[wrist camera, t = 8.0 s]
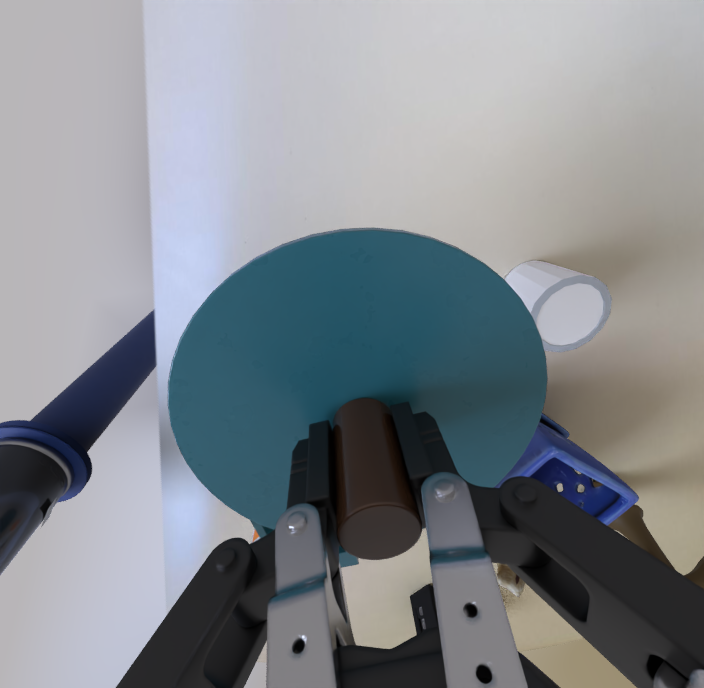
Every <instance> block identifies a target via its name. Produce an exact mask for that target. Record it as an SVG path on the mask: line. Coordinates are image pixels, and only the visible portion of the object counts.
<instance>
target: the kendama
mask: <svg viewBox="0 0 704 688" xmlns="http://www.w3.org/2000/svg"><path fill="white" fill-rule="evenodd" d="M593 484H594V487H598V486H602V485H603V484H602V483H600V482H598V481H594V482H593ZM642 517H643V510H642V509H641V508H640V507H639V506H637V505H633V506H631V507H630V508H629V509H628V510H627V511H625V512H624V513H623V514H622V515H620V516H619V517H618V518H617V519H615V520H614V521H613V522H611V523H610V524H609V525H607V526H609V527H610V528H612V529H614V530H617V531H619V532H620V533H622V534H623V535H624V536H625V537H627V538H628V539H629V540H630V541H631V542H633V543H635V544H636V545H638V546H639V547H641V548H642V549H644V550H645V551H647V552H648V553H650V554H651V555H653V556H654V557H656V558H657V559H659V560H660V561H662V562H663V563H665V564H666V565H668V566H669V567H671V568H673V569H674V567H673V566H672V564H671V563H670V562H669V560H668V559H667V557H666V556H665V555H664V553H663V552H662V550H661V549H660V547H659V546H658V544H657V543H656V541H655V540H654V538H653V537H652V535H651V534H650V532H649V530H648V529H647V527H646V525H645V523H644V521H643V519H642ZM674 570H675V569H674ZM684 576H685V577H686V578H688V579H689V580H691V581H692V582H694V583H695V584H697V585H698V586H700V587H701V588H703V589H704V557H703V558H702V559H701V560H700V561H699V562H698V564H697V565H696V567H695V568H694V569H693V570H692V571H691V572H690V573H688V574H686V575H684Z"/></svg>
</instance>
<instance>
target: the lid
mask: <svg viewBox="0 0 704 688" xmlns="http://www.w3.org/2000/svg"><path fill="white" fill-rule="evenodd" d="M546 387H547V366H546V356H545V352H544V347H543V343H542V339H541V336H540V333H539V331H538V329H537V326H536V324H535V321H534V319H533V317H532V315H531V314H530V312H529V310H528V309H527V307H526V306H525V304H524V302H523V301H522V299H521V298H520V297H519V295H518V294H517V293H516V292H515V291H514V290H513V289H512V288H511V287H510V285H509V284H508V283H507V282H506V281H505V280H504V279H503V278H502V277H501V276H499V275H498V274H497V273H496V272H494V271H493V270H492V269H491V268H489V267H488V266H487V265H486V264H484V263H483V262H481V261H480V260H478V259H476V258H475V257H473V256H471V255H470V254H468V253H466V252H464V251H463V250H461V249H459V248H457V247H455V246H453V245H450V244H448V243H445V242H442V241H440V240H437V239H435V238H432V237H429V236H425V235H420V234H416V233H412V232H408V231H403V230H394V229H383V228H352V229H339V230H334V231H328V232H323V233H317V234H312V235H309V236H306V237H303V238H300V239H297V240H294V241H291V242H288V243H285V244H282V245H280V246H278V247H276V248H274V249H272V250H270V251H268V252H266V253H264V254H262V255H260V256H258V257H256V258H254V259H253V260H251V261H250V262H248V263H247V264H245V265H244V266H242V267H241V268H240V269H238V270H237V271H235V272H234V273H232V274H231V275H230V276H229V277H228V278H227V279H226V280H225V281H224V282H223V283H221V284H220V285H219V286H218V287H217V288H216V289H215V290H214V291H213V292H212V293H211V294H210V295H209V297H208V298H207V299H206V300H205V302H204V303H203V304H202V305H201V307H200V308H199V309H198V310H197V312H196V313H195V314H194V315H193V317H192V319H191V320H190V322H189V324H188V326H187V327H186V329H185V331H184V333H183V334H182V336H181V338H180V340H179V343H178V346H177V349H176V351H175V354H174V357H173V360H172V364H171V370H170V375H169V381H168V409H169V415H170V422H171V427H172V430H173V433H174V436H175V439H176V442H177V445H178V447H179V449H180V451H181V453H182V455H183V457H184V459H185V461H186V463H187V464H188V465H189V467H190V468H191V470H192V471H193V472H194V474H195V475H196V477H197V478H198V479H199V480H200V481H201V483H202V484H203V485H204V486H205V487H206V488H207V489H208V490H209V491H210V492H211V493H212V494H213V495H214V496H216V497H217V498H218V499H219V500H220V501H222V502H223V503H224V504H225V505H227V506H228V507H230V508H231V509H233V510H234V511H236V512H237V513H239V514H240V515H242V516H244V517H246V518H248V519H250V520H252V521H254V522H256V523H258V524H260V525H262V526H265V527H268V528H270V529H273V530H274V529H275V527H276V523H277V521H278V519H279V517H280V516H281V515H282V514H283V513H284V512H285V511H286V509H287V500H288V490H289V480H290V474H291V473H290V470H291V465H292V464H291V460H292V451H293V450H294V448H295V446H296V444H297V443H298V441H299V440H303V439H307V438H309V425H310V424H312V423H316V422H321V421H325V420H329V422H330V424H331V427H332V430H333V452H334V480H335V508H336V534H337V540H338V542H339V544H340V546H341V547H342V548H343V549H344V550H345V551H346V552H347V553H349V554H351V555H352V556H355V557H358V558H361V559H367V560H381V559H388V558H392V557H395V556H398V555H400V554H402V553H404V552H406V551H407V550H409V549H410V548H411V547H412V546H414V545H415V543H416V542H417V541H418V539H419V538H420V536H421V532H422V529H423V528H422V520H421V517H420V513H419V509H418V506H417V502H416V500H415V498H414V495H413V491H412V488H411V484H410V480H409V476H408V473H407V469H406V465H405V461H404V458H403V454H402V450H401V447H400V443H399V439H398V435H397V432H396V428H395V424H394V420H393V417H392V413H391V408H390V405H394V404H398V403H403V402H407V401H409V404H410V407H411V409H412V412H413V414H416V413H420V412H425V411H426V412H427V413H428V414H430V415H431V416H432V417H433V418H434V419H435V420H436V423H437V425H438V427H439V430H440V432H441V434H442V437H443V440H444V441H445V444H446V446H447V448H448V451H449V453H450V455H451V458H452V460H453V462H454V464H455V467H456V469H457V471H458V473H459V474H460V476H461V477H462V478H463V479H465V480H466V481H467V482H469V483H471V484H474V485H476V486H481V487H492V488H493V487H495V486H496V485H497V484H498V483H499V482H500V481H501V480H502V479H503V478H504V477H505V476H506V475H507V473H508V472H509V471H510V470H511V469H512V468H513V467H514V465H515V464H516V463H517V461H518V460H519V459H520V457H521V456H522V455H523V453H524V451H525V450H526V448H527V446H528V444H529V443H530V441H531V439H532V437H533V435H534V433H535V430H536V428H537V426H538V423H539V421H540V418H541V414H542V410H543V406H544V402H545V397H546Z"/></svg>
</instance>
